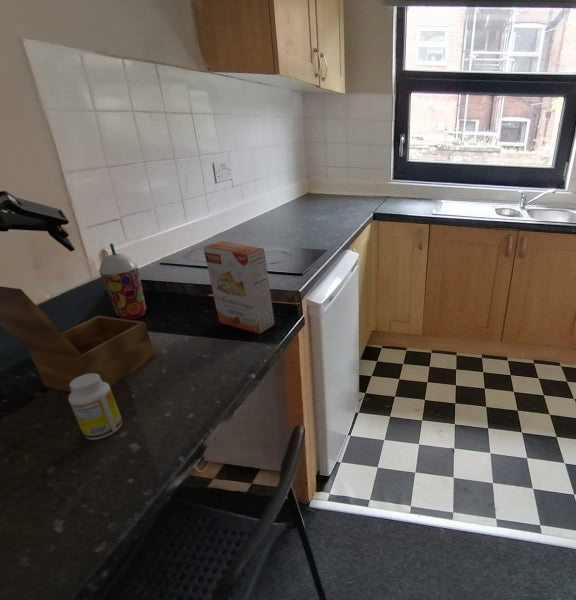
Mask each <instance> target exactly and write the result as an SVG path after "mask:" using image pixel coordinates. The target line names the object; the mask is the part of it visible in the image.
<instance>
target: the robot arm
mask: <svg viewBox="0 0 576 600" xmlns="http://www.w3.org/2000/svg"><path fill="white" fill-rule="evenodd" d="M69 223H70V221H69V219H68V218H67V216H66V215H65V213H64V212H63V210H62V209H60V208H57V207H53V206H49V205H46V204H41V203H38V202H34V201H30V200H27V199H23V198H19V197H16V196H15V195H14V194H12V193H10V192H9V191H6V190H1V191H0V232H2V233H3V232H6V233H7V232H9V230H13V231H30V232H47V234H48V235H49V236H50V237H51V238H53V240H55V241H56V242H58V243H59V244H60V245H61V246H63V247H64V248H65V249H66V250H68V251H69V252H73V251H75V250H76V249H75V246H74V245H73V244H72V242H71V241H70V239H69V238H68V237H69V236H70V235H69V232H68V231H67V230H66V228H65V227H64V226H67V225H68V224H69Z"/></svg>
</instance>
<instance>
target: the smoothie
mask: <svg viewBox="0 0 576 600" xmlns="http://www.w3.org/2000/svg"><path fill="white" fill-rule="evenodd" d="M109 247H110V250H111V254H109V255H107V256H106V257H104V258H103V260H102V261H101V263H100V266H99V269H98V273H99V275H100V277H101V281H102V282H103V285H104V287H105V289H106V292H107V294H108V297H109V299H110V302H111V304H112V307H113V309H114V311H115V314H116V316H117V317H119V319H126V320H136V319H139V318H141V317H144V315H145V314H146V310H147V305H146V301H145V294H144V291H143V290H144V289H143V286H142V285H143V284H142V281H141V276H140V271H139V267H138V266H139V265H138V263H136V262H135V261H134V260H133V259H132V258H131V257H130V256H128V255H126V254H122V253H117V252H116V249H115V246H114V243H109Z"/></svg>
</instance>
